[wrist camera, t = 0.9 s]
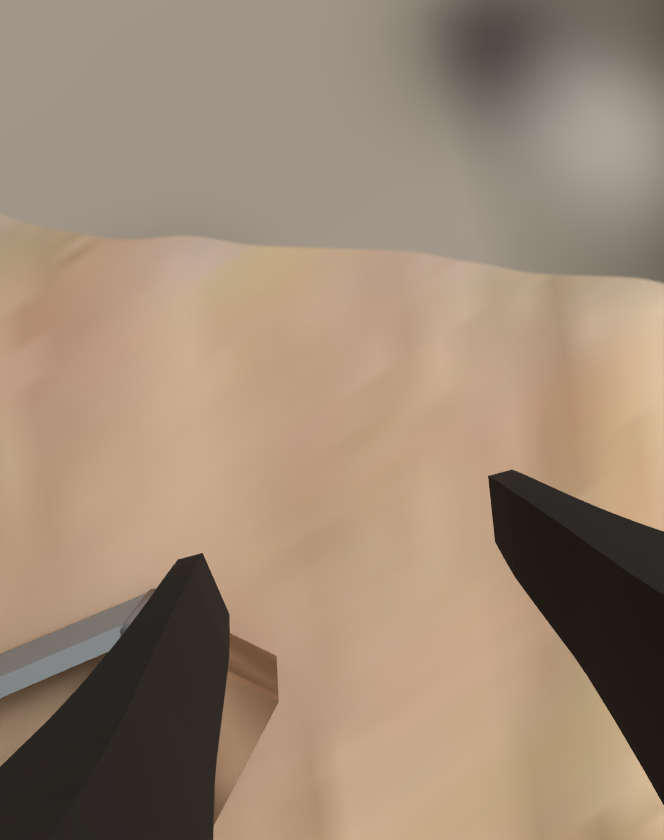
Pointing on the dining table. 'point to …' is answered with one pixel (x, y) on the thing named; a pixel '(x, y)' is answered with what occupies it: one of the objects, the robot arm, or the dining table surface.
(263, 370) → the dining table surface
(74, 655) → the door
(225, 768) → the cabinet
